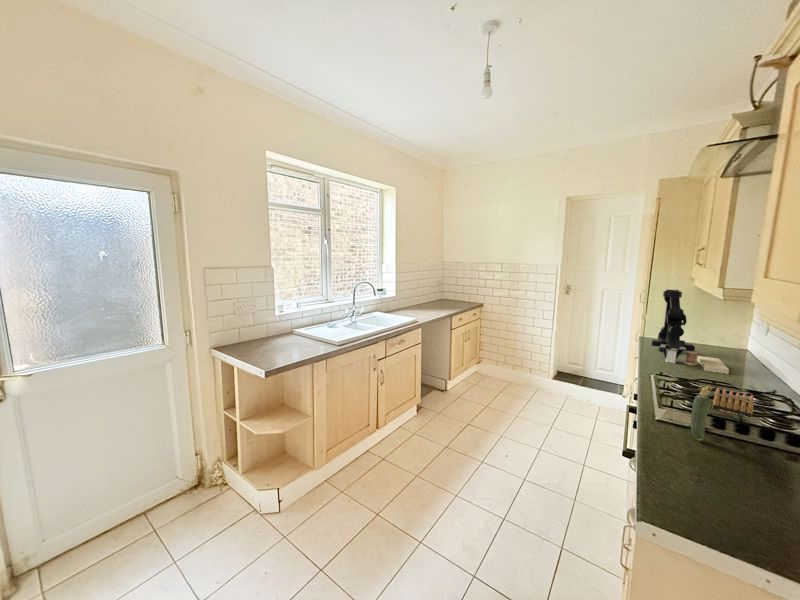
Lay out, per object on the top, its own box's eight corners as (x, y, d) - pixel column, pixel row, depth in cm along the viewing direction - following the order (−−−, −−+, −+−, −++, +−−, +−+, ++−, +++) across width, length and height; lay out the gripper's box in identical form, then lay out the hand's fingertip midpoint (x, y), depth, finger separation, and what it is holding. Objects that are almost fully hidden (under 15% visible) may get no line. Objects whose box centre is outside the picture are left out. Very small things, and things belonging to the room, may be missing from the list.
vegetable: (685, 437, 111) (692, 383, 108) (692, 434, 112) (700, 380, 109) (701, 444, 107) (709, 388, 103) (708, 441, 108) (716, 385, 105)
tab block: (665, 360, 187) (666, 348, 186) (674, 361, 185) (675, 349, 184) (666, 362, 184) (667, 350, 183) (675, 363, 182) (676, 351, 181)
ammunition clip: (750, 425, 118) (756, 394, 116) (751, 427, 117) (756, 396, 115) (710, 414, 125) (715, 386, 124) (710, 416, 124) (714, 387, 122)
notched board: (697, 360, 187) (697, 355, 187) (718, 363, 182) (718, 358, 182) (704, 370, 171) (705, 366, 170) (728, 374, 166) (728, 369, 165)
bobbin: (682, 361, 186) (683, 348, 184) (696, 363, 182) (697, 349, 181) (684, 364, 181) (685, 350, 179) (698, 366, 177) (700, 352, 176)
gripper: (654, 333, 181) (651, 360, 183) (698, 338, 170) (694, 366, 173) (652, 329, 190) (649, 355, 192) (694, 334, 179) (690, 360, 182)
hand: (670, 359), depth 184 cm, fingers closed on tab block, 4 cm apart
